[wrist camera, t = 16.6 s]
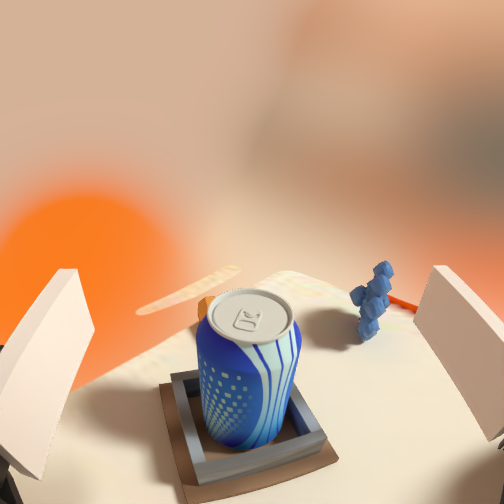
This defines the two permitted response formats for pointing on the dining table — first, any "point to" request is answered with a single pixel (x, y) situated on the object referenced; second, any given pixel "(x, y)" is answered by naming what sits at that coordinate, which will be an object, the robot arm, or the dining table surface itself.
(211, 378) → the beer can
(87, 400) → the dining table surface
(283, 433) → the holder
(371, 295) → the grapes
